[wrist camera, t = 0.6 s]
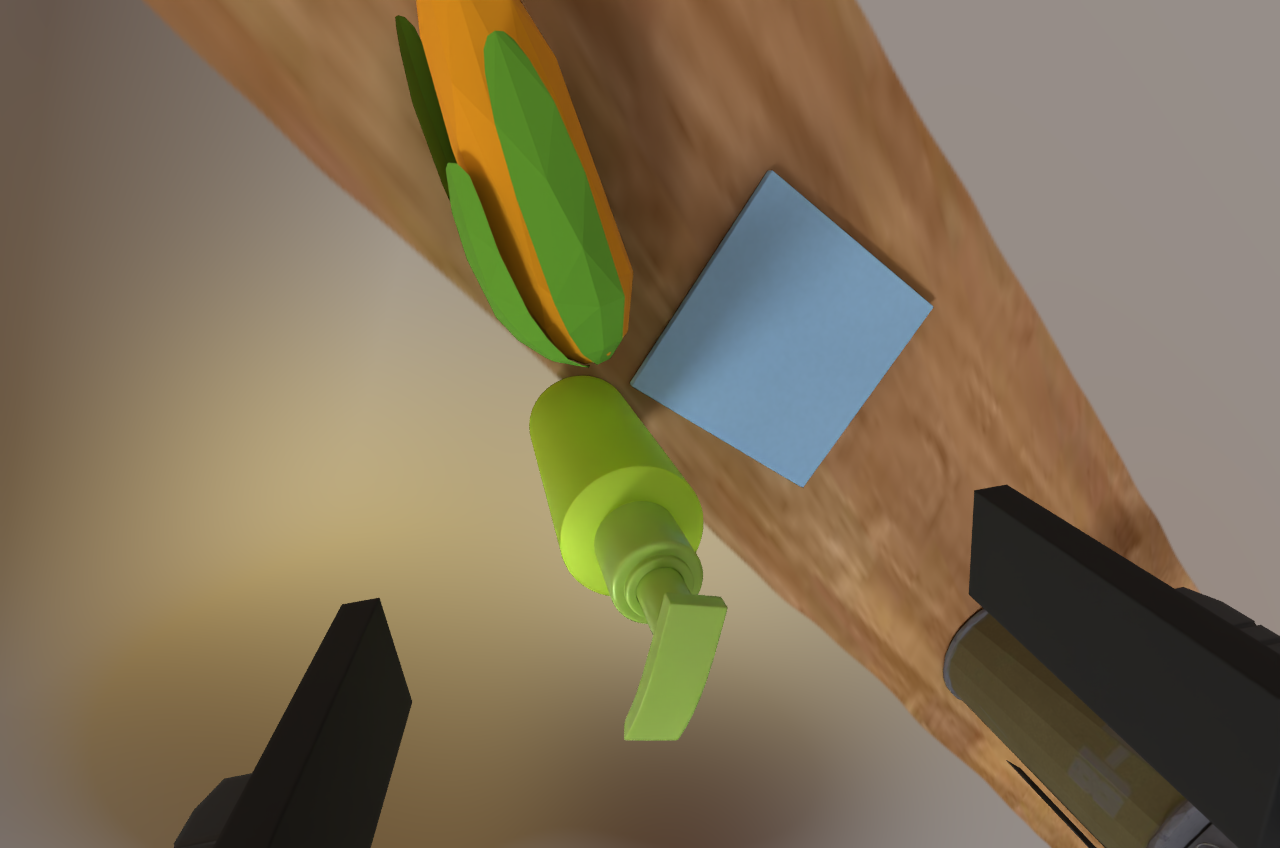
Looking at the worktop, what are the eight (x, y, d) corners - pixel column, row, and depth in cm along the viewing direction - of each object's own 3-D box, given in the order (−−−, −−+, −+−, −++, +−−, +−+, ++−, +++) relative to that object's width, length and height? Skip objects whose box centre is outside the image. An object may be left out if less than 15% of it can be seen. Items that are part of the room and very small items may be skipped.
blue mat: (767, 169, 35) (772, 169, 34) (928, 305, 40) (934, 306, 40) (628, 383, 37) (631, 386, 37) (798, 484, 43) (803, 488, 42)
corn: (538, 416, 28) (302, -131, 20) (514, 374, 35) (331, -47, 27) (686, 351, 30) (520, -187, 22) (636, 323, 36) (495, -93, 28)
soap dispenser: (516, 479, 37) (564, 753, 19) (541, 366, 36) (619, 552, 17) (611, 491, 39) (737, 753, 21) (639, 385, 37) (804, 571, 19)
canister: (1006, 575, 51) (1309, 793, 32) (1070, 627, 55) (1370, 846, 37) (915, 676, 52) (1157, 940, 34) (984, 719, 56) (1233, 975, 38)
